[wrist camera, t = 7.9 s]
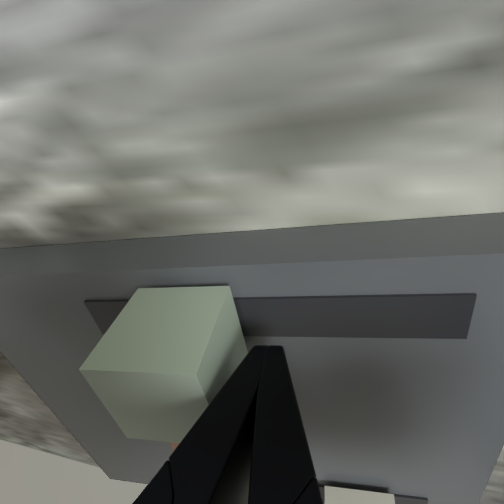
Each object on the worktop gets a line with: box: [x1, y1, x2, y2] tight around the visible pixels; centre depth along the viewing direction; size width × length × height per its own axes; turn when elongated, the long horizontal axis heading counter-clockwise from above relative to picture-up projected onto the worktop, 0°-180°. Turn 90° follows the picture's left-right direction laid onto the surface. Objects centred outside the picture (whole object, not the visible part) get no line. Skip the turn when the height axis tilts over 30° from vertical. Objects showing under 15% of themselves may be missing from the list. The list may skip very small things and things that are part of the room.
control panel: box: [0, 213, 504, 504], centre depth 15 cm, size 20×16×2 cm
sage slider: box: [79, 286, 248, 443], centre depth 9 cm, size 3×3×3 cm
